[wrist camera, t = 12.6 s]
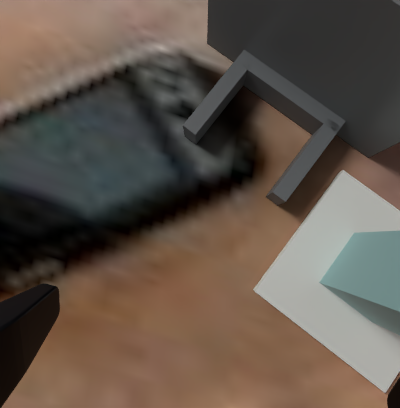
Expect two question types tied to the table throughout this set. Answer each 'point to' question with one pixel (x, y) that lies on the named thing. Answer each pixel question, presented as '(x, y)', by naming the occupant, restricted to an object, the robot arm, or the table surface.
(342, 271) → the key block
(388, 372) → the mat
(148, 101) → the table surface
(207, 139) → the table surface
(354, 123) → the charging dock
